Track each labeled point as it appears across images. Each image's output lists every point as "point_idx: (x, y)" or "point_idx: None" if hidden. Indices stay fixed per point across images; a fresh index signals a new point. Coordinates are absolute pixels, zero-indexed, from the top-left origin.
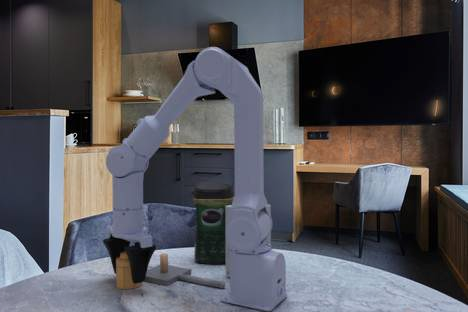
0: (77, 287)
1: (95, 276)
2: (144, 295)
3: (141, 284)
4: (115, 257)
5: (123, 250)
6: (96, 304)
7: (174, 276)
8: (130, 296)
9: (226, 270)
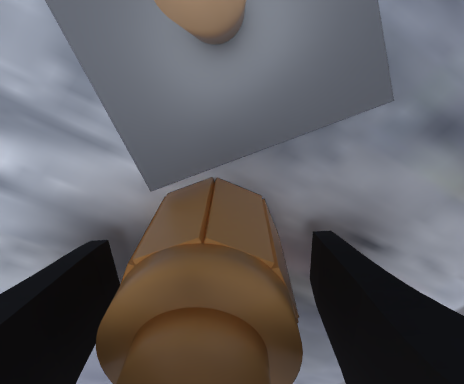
0: None
1: None
2: (387, 242)
3: (265, 202)
4: (65, 372)
5: (13, 368)
6: (320, 375)
7: (365, 4)
8: None
9: None
